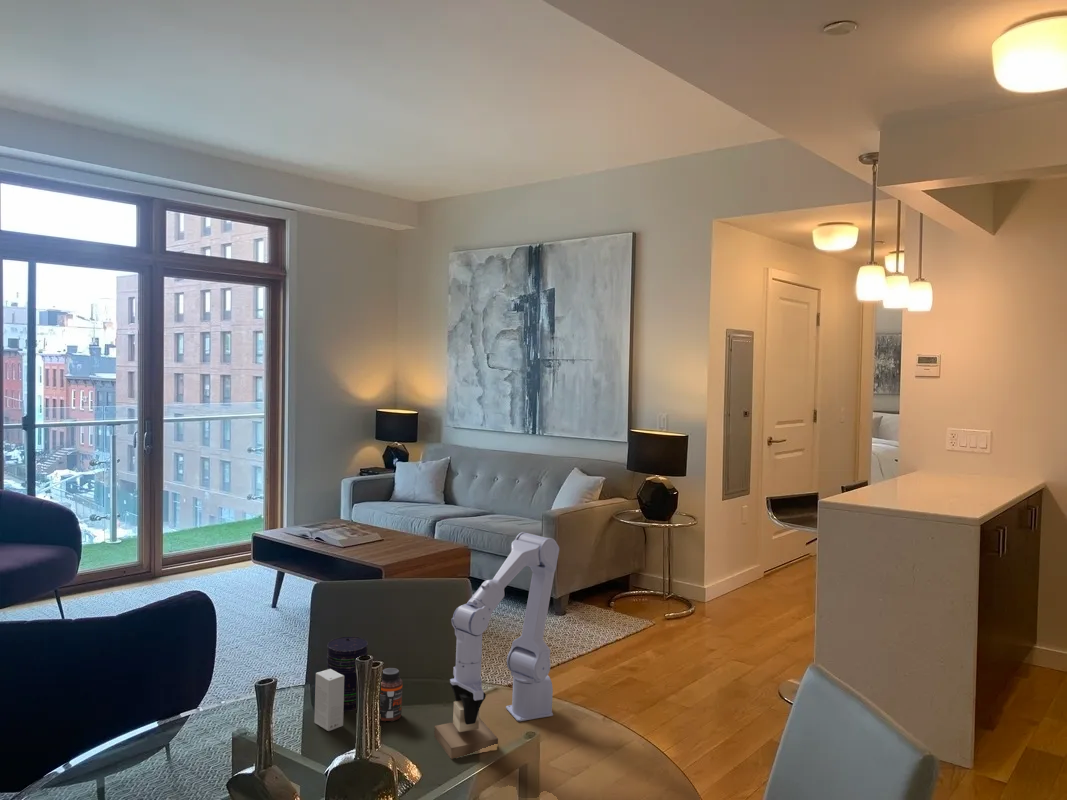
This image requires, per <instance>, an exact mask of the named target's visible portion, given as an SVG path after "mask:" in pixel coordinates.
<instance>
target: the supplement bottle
mask: <svg viewBox="0 0 1067 800" xmlns="http://www.w3.org/2000/svg"><path fill="white" fill-rule="evenodd" d="M382 671H383V675H382V674H381V678H382V682H381V694H380V714H381V720H380V721H382V722H386V721H391V722H395V721H397V720H399V719H401V718H402V710H403V709H402V708H403V705H402V704H403V682H404V681H403V680H402V679H401V678H400V670H399V669H398V668H395V667H388V668H386V667H385V668H384V669H382Z"/></svg>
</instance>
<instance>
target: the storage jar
mask: <svg viewBox="0 0 1067 800" xmlns="http://www.w3.org/2000/svg"><path fill="white" fill-rule="evenodd" d="M368 646H369V645H368V641H367V640H366V639H364V638H362V637H359V636H342V637H341V636H340V637H336V638H332V639H331V640H330V641H328V643H327V651H326V653H327V654H326V668H327V670H328V669H332V670H334V671H336V672H338V673H340V674H341V675H344V709H343V713H344V712H352V711H356V710H357V709H356V673H355V659H356V658H357V657H359V656H368V655H369V653H368V652H369V651H368ZM368 657H369V656H368Z"/></svg>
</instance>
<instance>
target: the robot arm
mask: <svg viewBox="0 0 1067 800" xmlns="http://www.w3.org/2000/svg"><path fill="white" fill-rule="evenodd" d="M510 545H511V546H510V553H509V554H508V555H507V558H506V559H505V560H504V562H503V563H502V565H501V566H500V568H499V569H498V571H496V573H495V575H494V577H493V578H492V579H485V580H484V581H483V582H482V583H481V585H480V586H479V587H478V589H477V590H476V591H475V592H474V594H473V595H472V596H471V597H470V598H469V599H468V601H467V603H464V604H462V605H459V606H458V607H456V609H455V610H454V612H453V615H452V618H451V619H450V620H451V621H450V622H451V626H452V627H453V629H454V635H455V637H456V642H455V643H456V645H455V648H456V649H455V651H456V652H455V666H453V669H452V670H453V671H452V675H453V677H454V678H453V677H452V678H450V679H449V685H450V687H451V689H452V692H453V695H454V698H455V701H461V700H462V703H463V708H464V718H465V723H466V724H467V725H468V724H474V723H475V722H476V718H477V715H478V711H479V712H480V708H481V706H482V704H483V702H484V701H485V699H486V697H487V695H486V693H485V692H484V690H483V686H482V685H483V682H482V681H483V678H482V655H483V654H482V652H483V633H484V632H485V631H486V630H487V629H488V626H489V622H490V619H491V617H492V613H493V612H494V610H495V609H496V608H497V606H498V605H499V604H500V602H501V601H502V600H503V599H504V598H505V588H506V587H508V585H509V584H510V583H511V582H512V581H513V579H515V577H516V576H517V575H518V574H519V573H520V572H522V570H523V569H524V568H525V567H529V569H530V570H531V572H532V573H531V580H530V586H529V590H528V598H527V603H526V606H525V613H524V614H525V615H524V618H523V619H524V620H523V624H522V631H521V635H520V636H519V637H517V638H515V639H514V640H513V641H512V642H511V647H510V650H509V651H508V654H507V656H506V667H507V669H508V670H509V672H510V676H512V700H511V701H512V702H511V704H509V705H506V706H505V709H506V710H507V711H508V713H510V714H511V716H513V718H514V719H515V721H517V722H525V721H530V720H536V719H542V718H547V717H553V716H554V713H553V710H552V709H553V691H554V689H553V687H554V686H553V682H552V680H551V677H550V676H549V673H550V670H551V659H550V657H551V656H550V655H551V648H550V647H549V646H548V644H547V643H546V642H545V640H544V635H545V634H544V633H545V630H546V629H545V628H546V624H547V618H548V612H549V606H550V602H551V601H550V600H551V593H552V588H553V583H554V578H555V572H556V571H557V565H558V557H559V554H560V546H559V545H558V542H557V541H556V539H554V538H552V537H546V536H542V535H537V534H532V533H529V532H526V531H520V533H518V534H517V535H516V537H515V538H514V539H513V541H512V542H511V544H510Z"/></svg>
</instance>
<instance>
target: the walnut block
mask: <svg viewBox="0 0 1067 800" xmlns="http://www.w3.org/2000/svg"><path fill="white" fill-rule="evenodd" d="M433 732H434V735H433V736H434V739H435V740H436V741H437V743H438V744H439V745H440V747H442V749H443V750H444V752H445V753H446V755H447V756H448V757H449V759H450V758H451V759H450V760H454V759H453V758H456V759H458V758H457V757H460V756H464V755H467V754H470V753H473V752H475V751H478V750H480V749H482V748H486V747H488V746H491V745H494V744H498V745H499V738H498V737H497V735H496V734H495V733H494V732H493V731H492V730H491V729H490V727H488V726H487V725H486V723H484V721H483V720H482V719H481V718H480V717H479V729H475V730H469V731H463V732H459V731H458V729H457V728H456V727H455V725H454V724H453V721H452V722H447V723H442V724H437V725H434V731H433Z"/></svg>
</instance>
